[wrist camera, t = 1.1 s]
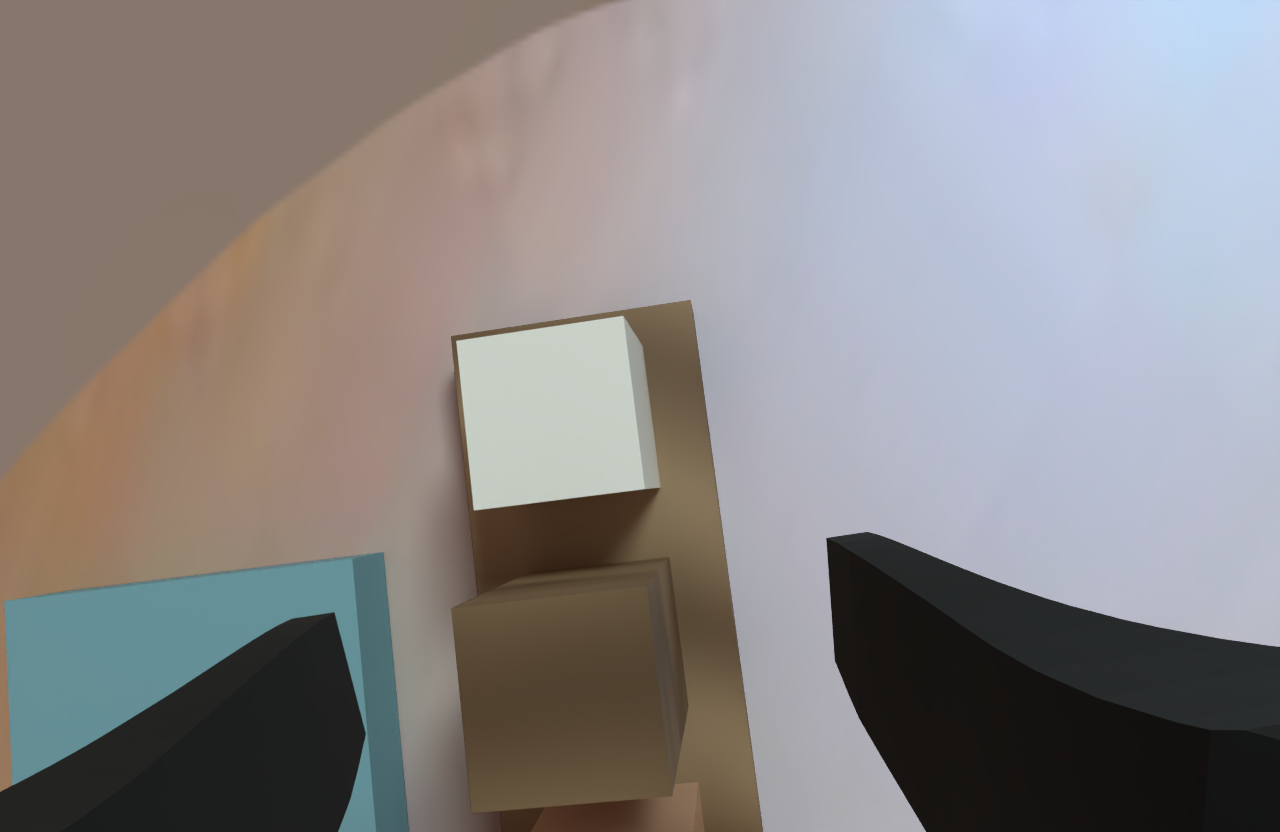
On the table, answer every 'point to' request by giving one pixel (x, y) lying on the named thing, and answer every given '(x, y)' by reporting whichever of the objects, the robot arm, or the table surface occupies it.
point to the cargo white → (557, 414)
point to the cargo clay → (629, 814)
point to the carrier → (609, 625)
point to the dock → (197, 660)
